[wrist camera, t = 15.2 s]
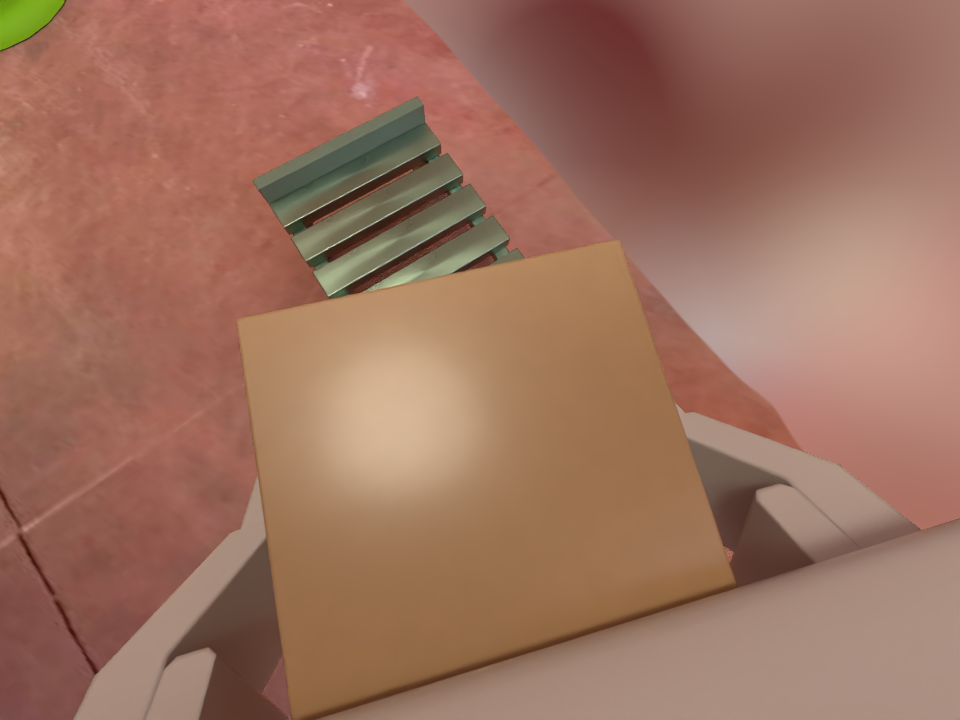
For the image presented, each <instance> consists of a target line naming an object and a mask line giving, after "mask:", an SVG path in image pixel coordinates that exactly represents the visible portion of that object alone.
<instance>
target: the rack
mask: <svg viewBox="0 0 960 720" xmlns="http://www.w3.org/2000/svg"><path fill="white" fill-rule="evenodd" d="M439 154H441V143H440V142H439V140H438V139H437V138H436V136H435V135H434V133H433V132H432V131H431V129H430V128H429V127H428V125H427V124H426V123H425V114H424V105H423V103H422V102H421V100H420V99H419V98H418V97H415V98H413V99H411V100H409V101H407V102H405V103H403V104H401V105H399V106H397V107H395V108H393V109H392V110H390V111H388V112H386V113H384V114H382V115H380V116H378V117H376V118H374V119H372V120H370V121H368V122H366V123H364V124H362V125H360V126H358V127H356V128H354V129H352V130H350V131H348V132H346V133H344V134H342V135H340V136H338V137H336V138H334V139H332V140H330V141H328V142H326V143H324V144H322V145H320V146H318V147H316V148H315V149H313V150H311V151H309V152H307V153H305V154H303V155H301V156H299V157H297V158H295V159H293V160H291V161H289V162H287V163H285V164H283V165H281V166H279V167H277V168H275V169H273V170H271V171H269V172H267V173H265V174H263V175H261V176H259V177H257V178H255V179H253V180H252V181H253V183H254V184H255V186H256V188H257V189H258V190H259V192H260V193H261V194H262V196H263V197H264V198H265V200H266V201H267V202H268V204H269V205H270V207H271V208H272V210H273V212H274V213H275V215H276V216H277V218H278V219H279V221H280V223H281V224H282V226H283V227H284V229H285V230H286V231H287V232H288V234H289V235H290V234H293V236H292V237H291V240H292V241H293V243H294V245H295V246H296V248H297V249H298V251H299V252H300V254H301V256H302V257H303V259H304V260H305V262H306V263H307V264H308V266H309V267H310V268H311V267H314V269H315V271H313V274H314V276H315V278H316V279H317V281H318V282H319V284H320V285H321V287H322V289H323V290H324V292H325V293H326V295H327V297H328V298H329V299H334V298H338V297H343V296H348V295H350V294H349V292H350V291H352V290H354V289H356V288H357V287H359V286H361V285H363V284H364V283H366V282H368V281H369V280H371V279H373V278H375V277H376V276H378V275H380V274H382V273H383V272H385V271H387V270H388V269H390V268H392V267H394V266H395V265H397V264H399V263H401V262H402V261H404V260H406V259H407V258H409V257H411V256H413V255H414V254H416V253H418V252H420V251H421V250H423V249H425V248H426V247H428V246H430V245H432V244H433V243H435V242H437V241H439V240H440V239H442V238H444V237H445V236H447V235H449V234H451V233H452V232H454V231H456V230H458V229H459V228H461V227H463V226H464V225H466V224H469V226H470V227H471V229H469V230H467V231H466V232H464V233H462V234H460V235H459V236H457V237H455V238H454V239H452V240H450V241H448V242H447V243H445V244H443V245H442V246H440V247H438V248H436V249H435V250H433V251H431V252H430V253H428V254H426V255H424V256H423V257H421V258H419V259H417V260H416V261H414V262H412V263H411V264H409V265H407V266H405V267H404V268H402V269H400V270H399V271H397V272H395V273H393V274H392V275H390V276H388V277H387V278H385V279H383V280H381V281H380V282H378V283H376V284H375V285H373V286H371V287H369V288H368V289H366V290H364V291H363V292H367V291H372V290H377V289H381V288H386V287H391V286H396V285H400V284H405V283H410V282H415V281H420V280H424V279H429V278H434V277H439V276H443V275H448V274H453V273H458V272H462V271H466V270H467V269H469V268H471V267H472V266H474V265H476V264H477V263H479V262H481V261H482V260H484V259H486V258H487V257H489V256H492V258H493V259H494V260H495V262H493V263H491V264H490V265H488V266H491V265H496V264H501V263H505V262H510V261H515V260H520V259H524V257H523V255H522V254H521V252H520V251H519V250H518V248H516V249H515V250H513V251H511V252H509V251H508V249H507V248H506V246H507V245H508V243H509V239H510V238H509V236H508V235H507V233H506V232H505V231H504V229H503V228H502V227H501V225H500V224H499V223H498V221H497V220H496V218H495V217H494V216H491V217H490V218H488V219H485V218H484V216H483V214H485V211H486V205H485V203H484V202H483V201H482V199H481V198H480V197H479V195H478V194H477V192H476V191H475V190H474V188H473V187H472V186H471V184H468V185H467V186H465V187H462V186H461V185H460V184H462V183H463V173H462V172H461V171H460V169H459V168H458V166H457V165H456V164H455V162H454V161H453V160H452V158H451V157H450V155H449V154H448V153H446V154H444V155H442V156H439ZM411 169H413V172H411V173H409V174H407V175H405V176H403V177H402V178H400V179H398V180H396V181H394V182H392V183H390V184H389V185H387V186H385V187H383V188H381V189H379V190H377V191H376V192H374V193H372V194H370V195H368V196H366V197H365V198H363V199H361V200H359V201H357V202H355V203H353V204H352V205H350V206H348V207H346V208H344V209H342V210H340V211H339V212H337V213H335V214H333V215H331V216H329V217H327V218H326V219H324V220H322V221H320V222H318V223H316V224H315V225H313V222H314V221H316V220H318V219H320V218H322V217H324V216H326V215H327V214H329V213H331V212H333V211H335V210H337V209H339V208H340V207H342V206H344V205H346V204H348V203H350V202H352V201H353V200H355V199H357V198H359V197H361V196H363V195H365V194H366V193H368V192H370V191H372V190H374V189H376V188H378V187H379V186H381V185H383V184H385V183H387V182H389V181H391V180H392V179H394V178H396V177H398V176H400V175H402V174H404V173H405V172H407V171H409V170H411ZM444 193H446V194H447V195H448V196H447V197H445V198H443V199H442V200H440V201H438V202H436V203H435V204H433V205H431V206H429V207H427V208H426V209H424V210H422V211H420V212H419V213H417V214H415V215H413V216H411V217H410V218H408V219H406V220H404V221H402V222H401V223H399V224H397V225H395V226H394V227H392V228H390V229H388V230H386V231H385V232H383V233H381V234H379V235H377V236H376V237H374V238H372V239H370V240H369V241H367V242H365V243H363V244H361V245H360V246H358V247H356V248H354V249H353V250H351V251H349V252H347V253H345V254H344V255H342V256H340V257H338V258H336V259H335V260H333V261H331V262H328V260H327V258H329V257H331V256H333V255H335V254H336V253H338V252H340V251H342V250H344V249H345V248H347V247H349V246H351V245H353V244H354V243H356V242H358V241H360V240H362V239H363V238H365V237H367V236H369V235H370V234H372V233H374V232H376V231H378V230H379V229H381V228H383V227H385V226H387V225H388V224H390V223H392V222H394V221H396V220H397V219H399V218H401V217H403V216H404V215H406V214H408V213H410V212H412V211H413V210H415V209H417V208H419V207H421V206H422V205H424V204H426V203H428V202H430V201H431V200H433V199H435V198H437V197H439V196H440V195H442V194H444ZM361 293H362V292H361Z"/></svg>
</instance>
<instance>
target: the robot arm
mask: <svg viewBox="0 0 960 720" xmlns="http://www.w3.org/2000/svg"><path fill="white" fill-rule="evenodd" d="M675 404H676V403H675ZM676 407H677V410H678V413H679V416H680V419H681V422H682V425H683V428H684V431H685V434H686V436H687V439H688V442H689V445H690V448H691V451H692V454H693V457H694V460H695V463H696V466H697V469H698V472H699V475H700V478H701V481H702V483H703V486H704V489H705V492H706V495H707V498H708V501H709V504H710V507H711V510H712V513H713V516H714V519H715V522H716V525H717V528H718V530H719V533H720V536H721V539H722V542H723V545H724V546H725V547H727V548H728V549H730V550H731V551H733V552H734V553H733V556H732V559H731V561H730V566H731V569H732V572H733V575H734V577H735V580H736V583H737V586H738V588H735V589H732V590H729V591H725V592H722V593H719V594H716V595H713V596H709V597H706V598H703V599H700V600H697V601H693V602H690V603H687V604H684V605H681V606H677V607H674V608H671V609H668V610H665V611H661V612H658V613H655V614H652V615H649V616H645V617H642V618H639V619H636V620H632V621H629V622H626V623H623V624H620V625H616V626H613V627H610V628H607V629H604V630H600V631H597V632H594V633H591V634H588V635H584V636H581V637H578V638H575V639H572V640H568V641H565V642H562V643H559V644H555V645H552V646H549V647H546V648H543V649H539V650H536V651H533V652H530V653H527V654H523V655H520V656H517V657H514V658H511V659H507V660H504V661H501V662H498V663H495V664H491V665H488V666H485V667H482V668H479V669H475V670H472V671H469V672H466V673H462V674H459V675H456V676H453V677H450V678H446V679H443V680H440V681H437V682H434V683H430V684H427V685H424V686H421V687H418V688H414V689H411V690H408V691H405V692H402V693H398V694H395V695H392V696H389V697H386V698H382V699H379V700H376V701H373V702H370V703H366V704H363V705H360V706H357V707H354V708H350V709H347V710H344V711H341V712H338V713H334V714H331V715H328V716H325V717H322V718H318V719H315V720H960V518H959V519H956V520H953V521H950V522H947V523H944V524H940V525H937V526H934V527H931V528H927V529H924V530H921V529H920V528H918V527H917V526H916V525H915V524H913V523H912V522H911V521H910V520H908V519H907V518H906V517H904V516H903V515H902V514H901V513H899V512H898V511H897V510H896V509H894V508H893V507H892V506H891V505H889V504H888V503H887V502H886V501H884V500H883V499H882V498H881V497H879V496H878V495H877V494H876V493H874V492H873V491H872V490H870V489H869V488H868V487H867V486H866V485H864V484H863V483H862V482H860V481H859V480H858V479H857V478H855V477H854V476H853V475H852V474H850V473H849V472H848V471H847V470H845V469H844V468H843V467H842V466H840V465H839V464H836V463H833V462H831V461H828V460H825V459H822V458H819V457H816V456H814V455H811V454H808V453H806V452H803V451H800V450H798V449H795V448H792V447H789V446H786V445H784V444H781V443H778V442H775V441H773V440H770V439H767V438H764V437H762V436H759V435H756V434H753V433H751V432H748V431H745V430H742V429H739V428H737V427H734V426H731V425H728V424H726V423H723V422H720V421H717V420H715V419H712V418H709V417H706V416H704V415H701V414H698V413H695V412H690V413H685V412H684V411H683V410H682V409H681V408H680V407H679V406H678V405H677V404H676ZM282 655H283V652H282V645H281V638H280V631H279V624H278V617H277V609H276V602H275V595H274V588H273V581H272V574H271V567H270V560H269V553H268V545H267V538H266V531H265V524H264V517H263V510H262V503H261V496H260V489H259V481H258V474H257V477H256V480H255V483H254V486H253V489H252V493H251V496H250V499H249V502H248V506H247V509H246V512H245V515H244V518H243V522H242V525H241V528H240V530H237V531H233V532H231V533H230V534H229V535H228V536H227V537H226V538H225V539H224V540H223V541H222V542H221V543H220V544H219V545H218V547H217V548H216V549H215V550H214V551H213V552H212V553H211V554H210V555H209V556H208V557H207V558H206V559H205V560H204V561H203V562H202V563H201V564H200V566H199V567H198V568H197V569H196V570H195V571H194V572H193V573H192V574H191V575H190V576H189V577H188V578H187V579H186V580H185V581H184V582H183V583H182V584H181V586H180V587H179V588H178V589H177V590H176V591H175V592H174V593H173V594H172V595H171V596H170V597H169V598H168V599H167V600H166V601H165V602H164V603H163V604H162V606H161V607H160V608H159V609H158V610H157V611H156V612H155V613H154V614H153V615H152V616H151V617H150V618H149V619H148V620H147V621H146V622H145V623H144V625H143V626H142V627H141V628H140V629H139V630H138V631H137V632H136V633H135V634H134V635H133V636H132V637H131V638H130V639H129V640H128V641H127V642H126V643H125V645H124V646H123V647H122V648H121V649H120V650H119V651H118V652H117V653H116V654H115V655H114V656H113V657H112V658H111V659H110V660H109V661H108V662H107V663H106V665H105V666H104V667H103V668H102V669H101V670H100V671H99V672H98V673H97V674H96V675H95V676H94V678H93V680H92V682H91V684H90V686H89V688H88V690H87V692H86V694H85V696H84V698H83V700H82V702H81V704H80V707H79V709H78V711H77V713H76V715H75V717H74V719H73V720H288V718H287V716H286V715H285V714H284V713H283V712H282V710H280V709H279V708H278V707H277V706H276V705H275V704H273V703H272V702H271V701H270V700H269V699H268V698H267V697H265V696H264V695H263V694H262V693H261V692H262V690H263V689H264V687H265V685H266V683H267V682H268V680H269V678H270V676H271V674H272V673H273V671H274V669H275V667H276V665H277V664H278V662H279V660H280V658H281V656H282Z"/></svg>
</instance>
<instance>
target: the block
mask: <svg viewBox="0 0 960 720" xmlns="http://www.w3.org/2000/svg"><path fill="white" fill-rule="evenodd" d="M236 325H237V332H238V339H239V346H240V353H241V361H242V368H243V375H244V382H245V389H246V396H247V403H248V410H249V417H250V425H251V432H252V439H253V446H254V453H255V460H256V467H257V474H258V481H259V489H260V496H261V503H262V510H263V517H264V524H265V531H266V538H267V545H268V553H269V560H270V567H271V574H272V581H273V588H274V595H275V602H276V609H277V617H278V624H279V631H280V638H281V645H282V652H283V659H284V666H285V673H286V681H287V688H288V695H289V702H290V709H291V716H292V720H315V719H318V718H322V717H325V716H328V715H331V714H334V713H338V712H341V711H344V710H347V709H350V708H354V707H357V706H360V705H363V704H366V703H370V702H373V701H376V700H379V699H382V698H386V697H389V696H392V695H395V694H398V693H402V692H405V691H408V690H411V689H414V688H418V687H421V686H424V685H427V684H430V683H434V682H437V681H440V680H443V679H446V678H450V677H453V676H456V675H459V674H462V673H466V672H469V671H472V670H475V669H479V668H482V667H485V666H488V665H491V664H495V663H498V662H501V661H504V660H507V659H511V658H514V657H517V656H520V655H523V654H527V653H530V652H533V651H536V650H539V649H543V648H546V647H549V646H552V645H555V644H559V643H562V642H565V641H568V640H572V639H575V638H578V637H581V636H584V635H588V634H591V633H594V632H597V631H600V630H604V629H607V628H610V627H613V626H616V625H620V624H623V623H626V622H629V621H632V620H636V619H639V618H642V617H645V616H649V615H652V614H655V613H658V612H661V611H665V610H668V609H671V608H674V607H677V606H681V605H684V604H687V603H690V602H693V601H697V600H700V599H703V598H706V597H709V596H713V595H716V594H719V593H722V592H725V591H729V590H732V589H735V588H738V586H737V583H736V580H735V577H734V575H733V572H732V569H731V566H730V563H729V560H728V557H727V554H726V551H725V548H724V545H723V542H722V539H721V536H720V533H719V530H718V528H717V525H716V522H715V519H714V516H713V513H712V510H711V507H710V504H709V501H708V498H707V495H706V492H705V489H704V486H703V483H702V481H701V478H700V475H699V472H698V469H697V466H696V463H695V460H694V457H693V454H692V451H691V448H690V445H689V442H688V439H687V436H686V434H685V431H684V428H683V425H682V422H681V419H680V416H679V413H678V410H677V407H676V404H675V401H674V398H673V395H672V392H671V390H670V387H669V384H668V381H667V378H666V375H665V372H664V369H663V366H662V363H661V360H660V357H659V354H658V351H657V348H656V345H655V343H654V340H653V337H652V334H651V331H650V328H649V325H648V322H647V319H646V316H645V313H644V310H643V307H642V304H641V301H640V298H639V296H638V293H637V290H636V287H635V284H634V281H633V278H632V275H631V272H630V269H629V266H628V263H627V260H626V257H625V254H624V252H623V249H622V246H621V243H620V241H619V240H617V239H615V240H610V241H606V242H601V243H596V244H591V245H586V246H582V247H577V248H572V249H567V250H563V251H558V252H553V253H548V254H544V255H539V256H534V257H529V258H524V259H520V260H515V261H510V262H505V263H501V264H496V265H491V266H486V267H482V268H477V269H472V270H467V271H462V272H458V273H453V274H448V275H443V276H439V277H434V278H429V279H424V280H420V281H415V282H410V283H405V284H400V285H396V286H391V287H386V288H381V289H377V290H372V291H367V292H362V293H358V294H353V295H348V296H343V297H338V298H334V299H329V300H324V301H319V302H315V303H310V304H305V305H300V306H296V307H291V308H286V309H281V310H276V311H272V312H267V313H262V314H257V315H253V316H248V317H243V318H239V319H237V321H236Z"/></svg>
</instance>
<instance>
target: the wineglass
mask: <svg viewBox="0 0 960 720" xmlns="http://www.w3.org/2000/svg"><path fill="white" fill-rule="evenodd" d="M64 1H65V0H0V50H3V49H6V48H8V47H10V46H12V45H14V44H16V43H19V42H21V41H23V40H25V39H27V38H29V37H30V36H32V35H33V34H34V33H36V32H37V31H38V30H40V29H41V28H42V27H43V26H45V25H46V24H47V23H49V22H50V20H51V19H52V18H53V17H54V15H55V14H56V13H57V12H58V11H59V9H60V8H61V7H62V6H63V4H64Z"/></svg>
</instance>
